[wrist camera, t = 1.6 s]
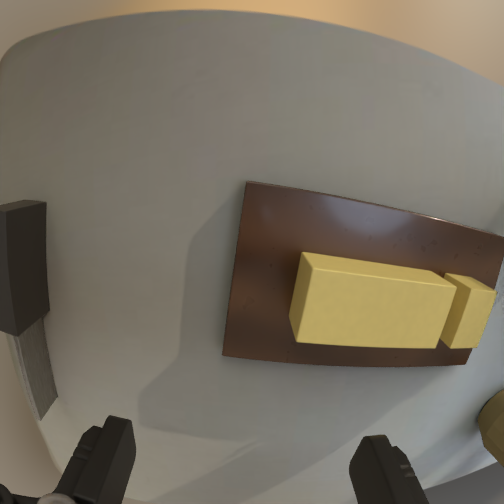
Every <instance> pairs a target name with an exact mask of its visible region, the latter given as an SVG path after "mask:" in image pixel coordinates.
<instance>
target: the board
mask: <svg viewBox="0 0 504 504" xmlns="http://www.w3.org/2000/svg"><path fill="white" fill-rule="evenodd" d="M302 252H308V253H315V254H321V255H328V256H335V257H342V258H349V259H355V260H362V261H369V262H376V263H382V264H389V265H395V266H402V267H409V268H415V269H422V270H428V271H432V272H434V273H435V274H437V275H438V276H440V277H442V278H443V279H444V276H445V273H449V274H455V275H462V276H468V277H472V278H474V279H476V280H477V281H479V282H481V283H483V284H484V285H486V286H488V287H490V288H491V289H493V290H494V289H495V285H496V282H497V279H498V275H499V272H500V268H501V264H502V261H503V257H504V237H503V236H500V235H497V234H493V233H490V232H486V231H483V230H479V229H476V228H472V227H469V226H465V225H461V224H458V223H454V222H450V221H446V220H443V219H439V218H435V217H431V216H427V215H423V214H419V213H414V212H410V211H406V210H402V209H397V208H393V207H388V206H384V205H379V204H375V203H370V202H365V201H361V200H356V199H351V198H346V197H341V196H336V195H330V194H325V193H320V192H314V191H309V190H303V189H297V188H291V187H285V186H279V185H273V184H267V183H260V182H254V181H246V187H245V193H244V200H243V207H242V213H241V220H240V227H239V234H238V241H237V248H236V255H235V262H234V269H233V276H232V283H231V291H230V298H229V305H228V312H227V320H226V327H225V335H224V342H223V351H222V355H223V356H229V357H237V358H245V359H254V360H264V361H274V362H285V363H297V364H312V365H329V366H353V367H426V366H449V365H465V364H466V362H467V360H468V358H469V355H470V353H471V351H472V348H449V347H448V346H447V345H446V344H445V343H444V342H443V341H442V340H441V339H440V338H439V340H438V343H437V345H436V348H381V347H358V346H341V345H326V344H313V343H301V342H296V340H295V336H294V333H293V329H292V326H291V322H290V319H289V312H290V307H291V302H292V297H293V293H294V288H295V283H296V278H297V273H298V268H299V263H300V258H301V253H302Z"/></svg>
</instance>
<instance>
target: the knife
mask: <svg viewBox="0 0 504 504" xmlns="http://www.w3.org/2000/svg"><path fill="white" fill-rule="evenodd" d="M48 311H50V308H49V298H48V286H47V269H46V202H41V201H31V200H22V201H17V202H12V203H8V204H3V205H0V331H3V332H5V333H8V334H11V335H13V336H14V340H15V345H16V349H17V354H18V358H19V362H20V366H21V370H22V373H23V377H24V381H25V384H26V388H27V391H28V394H29V397H30V401H31V404H32V407H33V410H34V413H35V415H36V418H37V419H38V420H40V421H41V420H42V418H43V417H44V415H45V414H46V412H47V411H48V410H49V408H50V407H51V405H52V404H53V403H54V401H55V400H56V398H57V397H58V396H57V392H56V388H55V384H54V379H53V375H52V370H51V365H50V360H49V355H48V350H47V344H46V338H45V332H44V325H43V317H42V316H44V315H45V314H46V313H47V312H48Z"/></svg>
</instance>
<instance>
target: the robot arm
mask: <svg viewBox="0 0 504 504" xmlns="http://www.w3.org/2000/svg"><path fill="white" fill-rule="evenodd" d="M135 457H136V444H135V439H134V433H133V427H132V422H131V420H128V419H124V418H120V417H116V416H111V415H109V416H108V417H107V419H106V421H105V423H104V425H103V428H101V427H97V426H92V427H91V428H90V429H89V430H87V431H86V432H85V433H84V434H83V435H82V437H81V439H80V441H79V443H78V446H77V447H76V449H75V451H74V453H73V456H72V457H71V459H70V461H69V463H68V465H67V467H66V469H65V471H64V473H63V475H62V477H61V479H60V481H59V483H58V486H57V488H56V489H55V490H54V491H53V492H52V493H50V494H46V495H44V496H43V497H40V498H34V497H27V496H21V495H16V494H11V493H10V491H9V490H8V489H7V488H6V487H5V486H4V485H2V484H0V504H121V503H122V500H123V497H124V494H125V490H126V487H127V484H128V481H129V477H130V474H131V471H132V468H133V465H134V461H135ZM349 474H350V478H351V481H352V485H353V488H354V491H355V494H356V498H357V501H358V504H429V502H428V500H427V498H426V496H425V494H424V492H423V489H422V487H421V485H420V483H419V481H418V479H417V477H416V476H415V473H414V471H413V468H412V467H411V464H410V462H409V460H408V458H407V456H406V455H405V454H404V453H403V452H402V451H401V450H400V449H399V448H398V447H397V446H394V447H392V446H391V444H390V442H389V440H388V438H387V436H386V435H374V436H365V437H364V438H363V439H362V440H361V442H360V444H359V446H358V448H357V450H356V452H355V454H354V456H353V458H352V459H351V461H350V465H349Z"/></svg>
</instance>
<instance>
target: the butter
mask: <svg viewBox="0 0 504 504" xmlns="http://www.w3.org/2000/svg"><path fill="white" fill-rule="evenodd" d="M456 289H457V287H456V286H455V285H453V284H451V283H450V282H448V281H447V280H445V279H443V278H442V277H440V276H438V275H437V274H435V273H434V272H432V271H428V270H422V269H415V268H409V267H402V266H395V265H389V264H382V263H376V262H369V261H362V260H355V259H349V258H342V257H335V256H328V255H321V254H315V253H308V252H302V253H301V258H300V263H299V268H298V273H297V278H296V283H295V288H294V293H293V297H292V302H291V307H290V312H289V319H290V322H291V326H292V329H293V333H294V336H295V340H296V342H301V343H313V344H326V345H341V346H358V347H381V348H436V345H437V343H438V340H439V338H440V335H441V332H442V330H443V327H444V324H445V322H446V319H447V316H448V313H449V310H450V307H451V304H452V301H453V298H454V295H455V292H456Z"/></svg>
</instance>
